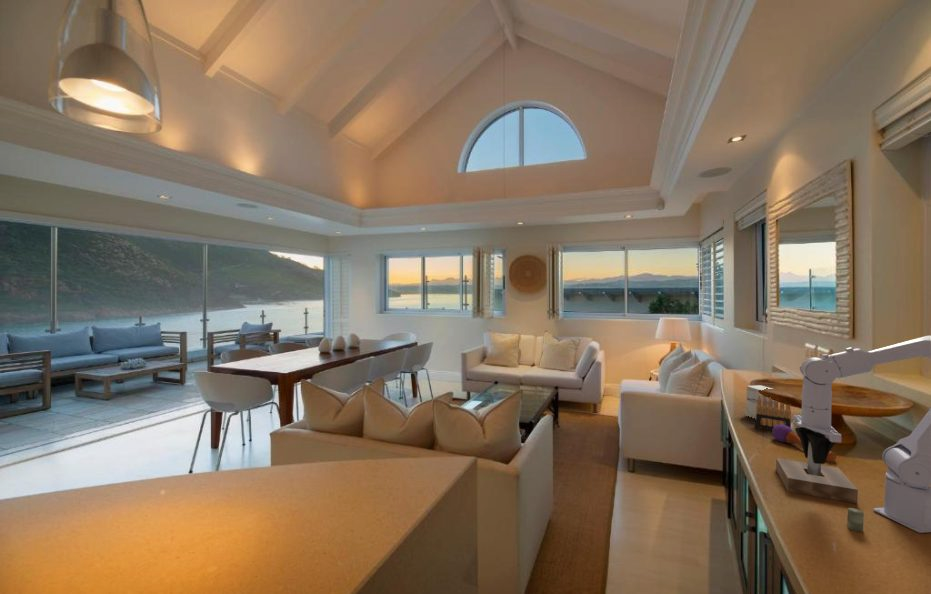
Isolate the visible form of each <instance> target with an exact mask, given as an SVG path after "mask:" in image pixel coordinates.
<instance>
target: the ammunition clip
mask: <svg viewBox="0 0 931 594" xmlns="http://www.w3.org/2000/svg"><path fill="white" fill-rule="evenodd" d="M761 410H762V413H761ZM791 415H792V410H791V404H790V405H787V404H785V402H784V403H780V404H779V400H778V401H775V402H774V409H773V407H772V399H771V397H770V398H769V403H768V411H767V400H766V397H764V399H763V405H762V407H761V398H760V396H758V399H757V406H756V419H755V425H754V426H756V427H755V428H758V427H762V428H761V429H764V428H768V429H767V430H770V429H773V428H774V427H775V426H776V425H780V424H782V425H786V426H788V427H790V428H791V419H792V416H791ZM761 418H762V420H761ZM791 429H792V428H791Z"/></svg>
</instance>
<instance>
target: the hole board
mask: <svg viewBox="0 0 931 594" xmlns="http://www.w3.org/2000/svg"><path fill="white" fill-rule="evenodd" d="M807 465H808V462H804V461H803V462H802V461H798V460H797V461H796V460H791V459H785V458H779V457H776V461H775V471H776V472H777V474H779V475H778V476H779V478H780V480H781V482H782V483H783V486H784V487H785V489H786V491H787V492H792V493H796V494H797V493H798V494H803V495H808V496H813V497H819V498H825V499H829V500H834V499H835V500H834V501H840V500H843V501H842V502H845V501H847V502H846V503H851V502H853V504H856V503H857V504H858V495H859V494H858V493H859V490H858V488H857V487H856V486H855V484H854V483H852V482H851V480H850V479H849V478H848V477H847V475H845V474H844V472H843V471H842V470H841V469H840V468H839V467H836V466H831V465H830V466H829V465H824V464H821V475H820V476H816V475H812V474H809V473H808V472H807Z"/></svg>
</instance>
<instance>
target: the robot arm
mask: <svg viewBox="0 0 931 594" xmlns="http://www.w3.org/2000/svg"><path fill="white" fill-rule="evenodd" d="M844 350H845V351H841V352H838V353H837V352H836V353H832V354H827V353H824V354H821V358H819V357H816V356H815V357H809V358H806V359H805V360H804V361H803V362H802V363H801V366H800V367H799V370H800V373H801V375H803V376H802V378H803V379H802V386H801V414H799V415H798V414H793V416H792V417H793V418H792V422H793V423H794V424H796V426H798V427H794V431H795V433H796V434H797V436H798V437H799V438H800V440H801V443H802V445H801V446H802V449H803V453H804V458H806V459H808V440H809V441H810V444H811V448H812V458H813V462H814V463H816V464H821V465H824V464H826V462H827V460H826V458H827V456H828V453H829V451H832V448H833V447H834V446H835V445H836V444H837V443H839V444H840V443H842V434H841V433H839V432H838V431H837V430H836V429H835V428H834V427H833V426H832V408H833V407H832V405H833V403H832V401H833V390H832V383H833V382H834V381H835V380H836V379H840V378H845V377H846V378H847V377H851V376H852V377H853V376H856V375H861V374H864V373H871V372H872V371H873V369H874V368H875V366H876V365H880V364H887V363H891V362H897V361H902V360H908V359H913V358H919V357H921V358H928V359H931V335H925V336H921V337H917V338H914V339H913V338H912V339H910V340H906V341H902V342H897V343H894V344H891V345H887V346H884V347H879V348H876V349H872V350H869V351H867V350H864V349H861V348H853V347H846V348H844ZM881 457H882V461H883V463H884V465H886V467H887V468H888V469H887V471H886V472H885V474H884V475H885V476H884V481H885V482H884V505H883V507H874V508H872V509H873V511H874V512H876V513H878V514H880V515H882V516H884V517H886V518H887V519H891V520H892V521H894V522H896V523H898V524H901V525H903V526H905V527H907V528H908V529H911V530H912V531H915V532H916V533H920V534H923V533H924V534H925V533H931V407H930V408H929V410H928V411H927V412H926V414H925V415H924V416H923V418H922V419H921V420H920V422H919V423H917V425H916V427H915V428H914V429H913V430H912V432H911V433H910V434H909V435H908V436H905V437H903V438H899V440H898V441H897V442H896V443H895V444H893V445H891V446H889V447H887V448H886V449H885V450H884V451H883V452H882V456H881Z"/></svg>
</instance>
